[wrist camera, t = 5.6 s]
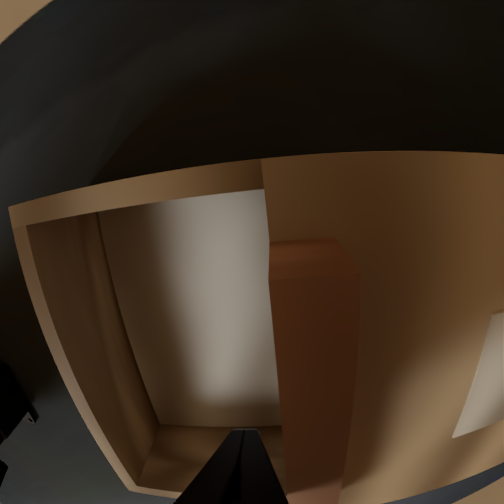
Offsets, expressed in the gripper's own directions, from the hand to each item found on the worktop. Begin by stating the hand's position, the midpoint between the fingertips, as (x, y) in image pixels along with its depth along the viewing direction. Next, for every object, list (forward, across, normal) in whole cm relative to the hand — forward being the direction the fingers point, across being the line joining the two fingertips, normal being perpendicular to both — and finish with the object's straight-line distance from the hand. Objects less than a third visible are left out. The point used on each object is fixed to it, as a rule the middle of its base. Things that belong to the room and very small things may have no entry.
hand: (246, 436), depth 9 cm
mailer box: (+8, -1, 0) cm, 8 cm away
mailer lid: (+1, -10, 0) cm, 10 cm away
